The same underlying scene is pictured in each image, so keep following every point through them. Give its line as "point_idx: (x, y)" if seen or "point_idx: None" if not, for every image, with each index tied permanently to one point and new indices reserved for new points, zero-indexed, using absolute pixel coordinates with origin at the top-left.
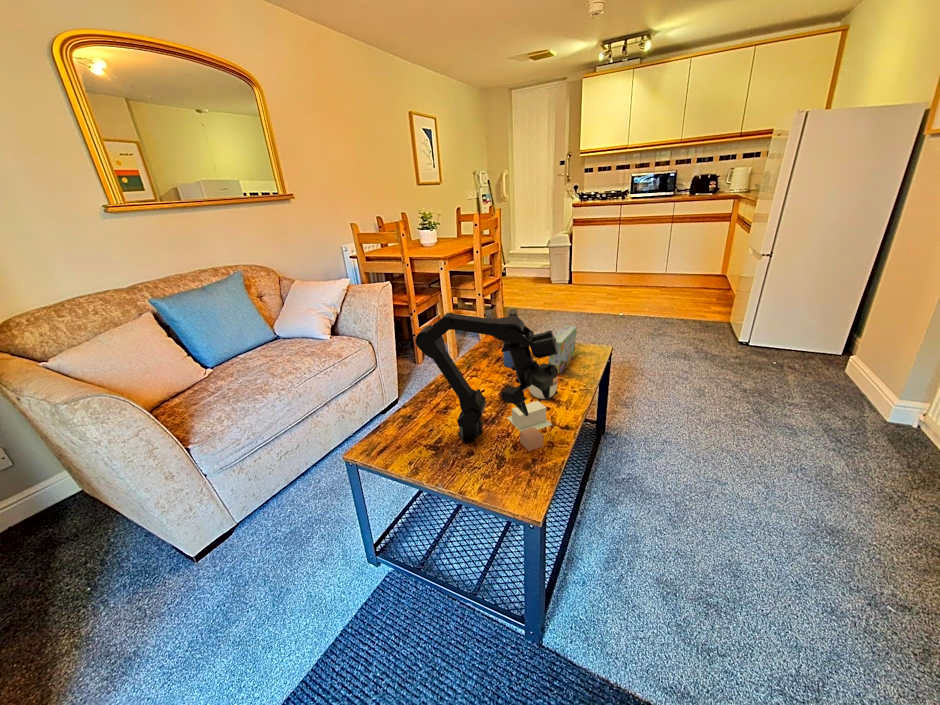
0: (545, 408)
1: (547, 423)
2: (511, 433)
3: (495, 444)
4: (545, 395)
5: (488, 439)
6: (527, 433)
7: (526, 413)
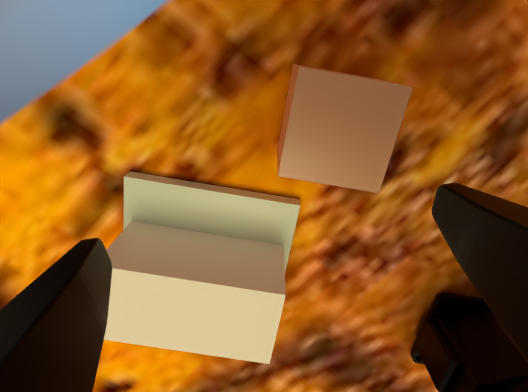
0: None
1: (140, 199)
2: (321, 249)
3: (435, 233)
4: (90, 305)
5: (428, 275)
6: (361, 149)
7: (498, 197)
